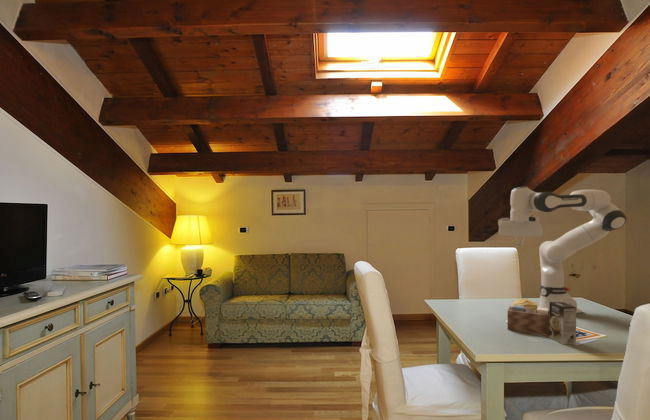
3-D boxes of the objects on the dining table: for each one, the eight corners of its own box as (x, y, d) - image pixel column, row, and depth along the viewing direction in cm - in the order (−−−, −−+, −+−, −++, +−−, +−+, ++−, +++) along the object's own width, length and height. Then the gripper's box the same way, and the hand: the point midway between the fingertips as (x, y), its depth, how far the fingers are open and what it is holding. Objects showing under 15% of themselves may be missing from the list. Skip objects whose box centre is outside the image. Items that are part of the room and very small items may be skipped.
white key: (537, 316, 185) (537, 309, 185) (537, 314, 189) (537, 307, 189) (547, 318, 182) (547, 310, 182) (548, 315, 186) (548, 308, 186)
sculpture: (519, 322, 200) (519, 301, 200) (507, 316, 212) (506, 296, 212) (541, 322, 200) (541, 301, 200) (527, 315, 212) (527, 295, 212)
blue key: (513, 314, 190) (513, 306, 190) (514, 312, 194) (514, 304, 194) (523, 315, 188) (523, 307, 188) (524, 313, 191) (524, 305, 191)
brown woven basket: (507, 329, 189) (507, 310, 189) (509, 324, 197) (509, 306, 197) (553, 335, 179) (553, 316, 179) (553, 330, 188) (553, 311, 188)
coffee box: (548, 337, 177) (548, 301, 176) (562, 337, 177) (562, 301, 177) (562, 344, 167) (562, 306, 167) (576, 344, 168) (576, 306, 168)
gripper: (497, 218, 207) (497, 244, 207) (541, 218, 196) (541, 246, 196) (498, 217, 212) (498, 243, 212) (542, 218, 202) (542, 245, 202)
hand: (519, 244), depth 204 cm, fingers closed
